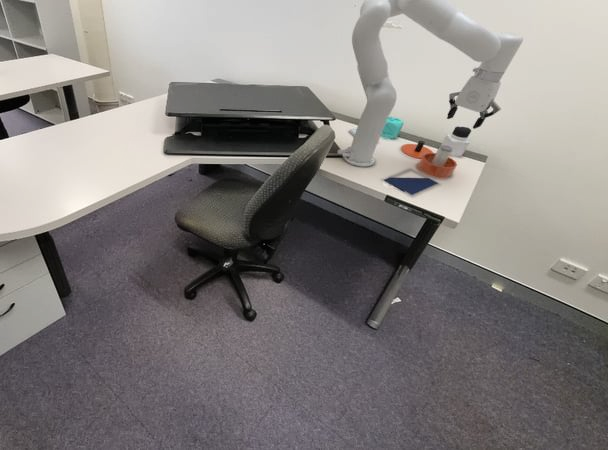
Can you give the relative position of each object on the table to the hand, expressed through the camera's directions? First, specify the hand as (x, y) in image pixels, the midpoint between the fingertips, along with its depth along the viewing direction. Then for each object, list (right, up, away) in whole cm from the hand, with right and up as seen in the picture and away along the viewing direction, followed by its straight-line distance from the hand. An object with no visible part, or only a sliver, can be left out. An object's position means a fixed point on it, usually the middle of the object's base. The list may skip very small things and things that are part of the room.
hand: (462, 122), depth 123 cm
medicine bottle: (+14, -6, +26) cm, 30 cm away
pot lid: (-2, -6, +24) cm, 25 cm away
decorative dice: (-8, +5, +37) cm, 39 cm away
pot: (-2, -16, +13) cm, 21 cm away
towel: (-15, -22, +6) cm, 27 cm away
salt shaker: (-2, -16, +13) cm, 20 cm away
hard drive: (-21, +4, +36) cm, 41 cm away
